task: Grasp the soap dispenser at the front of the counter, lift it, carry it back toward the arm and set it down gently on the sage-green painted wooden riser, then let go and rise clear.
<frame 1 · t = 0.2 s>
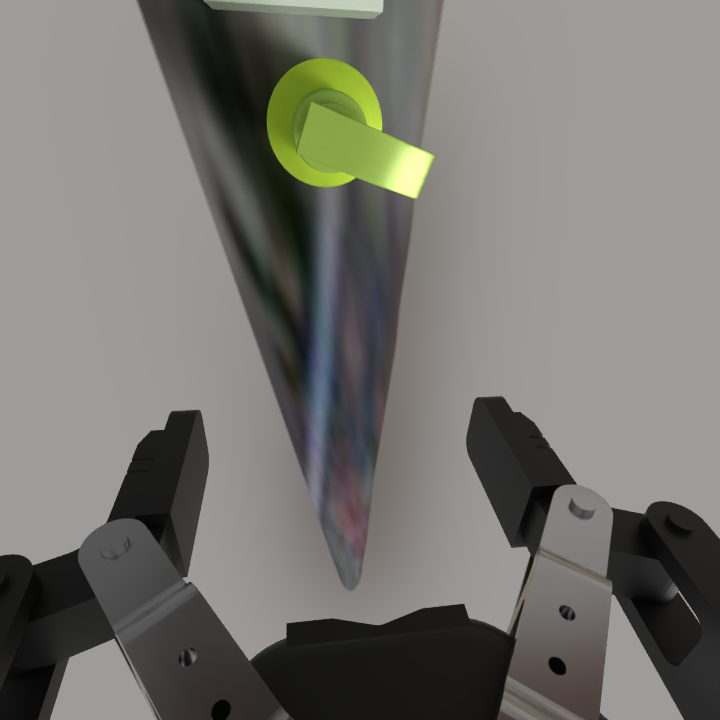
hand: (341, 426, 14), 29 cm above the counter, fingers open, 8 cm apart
soap dispenser: (320, 114, 35), on the counter
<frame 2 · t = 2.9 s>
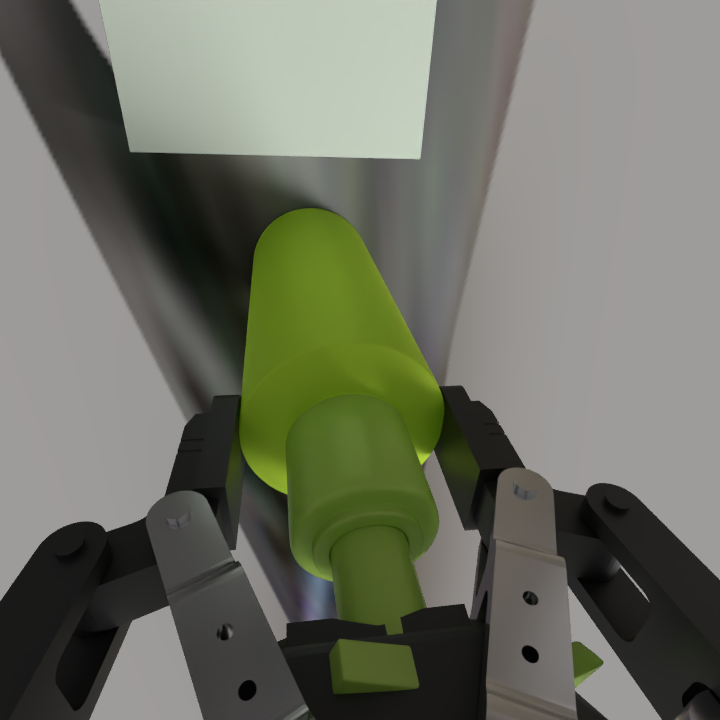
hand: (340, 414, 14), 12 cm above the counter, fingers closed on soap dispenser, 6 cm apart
soap dispenser: (320, 266, 24), on the counter, touching gripper
riser: (276, 1, 18), on the counter
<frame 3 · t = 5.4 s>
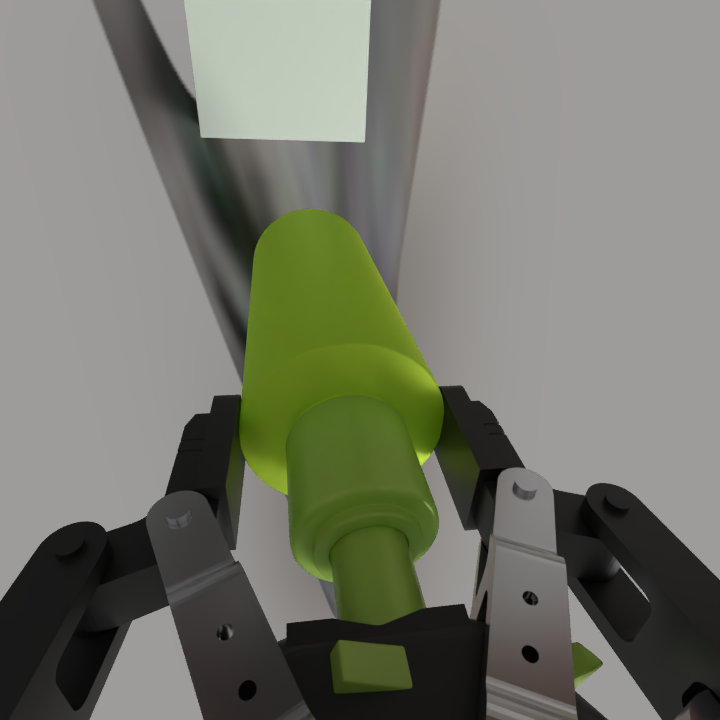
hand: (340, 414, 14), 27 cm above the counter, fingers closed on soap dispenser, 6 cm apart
soap dispenser: (320, 267, 24), point 15 cm above the counter, touching gripper
riser: (281, 52, 31), on the counter
when the fingers open (17 cm above the counter, at t = 8.5 s): soap dispenser stays where it is, resting on riser.
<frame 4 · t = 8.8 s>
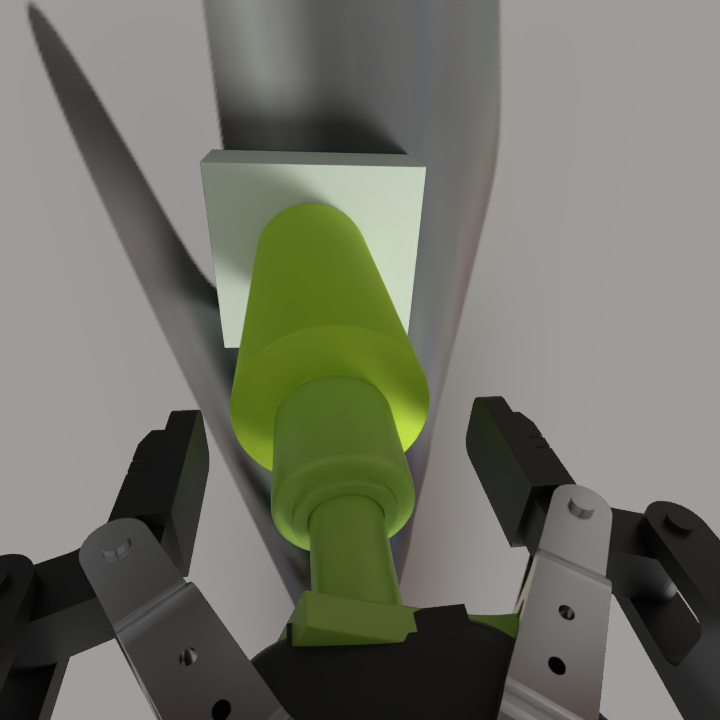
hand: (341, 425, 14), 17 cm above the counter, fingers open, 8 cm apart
soap dispenser: (321, 261, 25), point 4 cm above the counter, touching riser
riser: (314, 241, 28), on the counter
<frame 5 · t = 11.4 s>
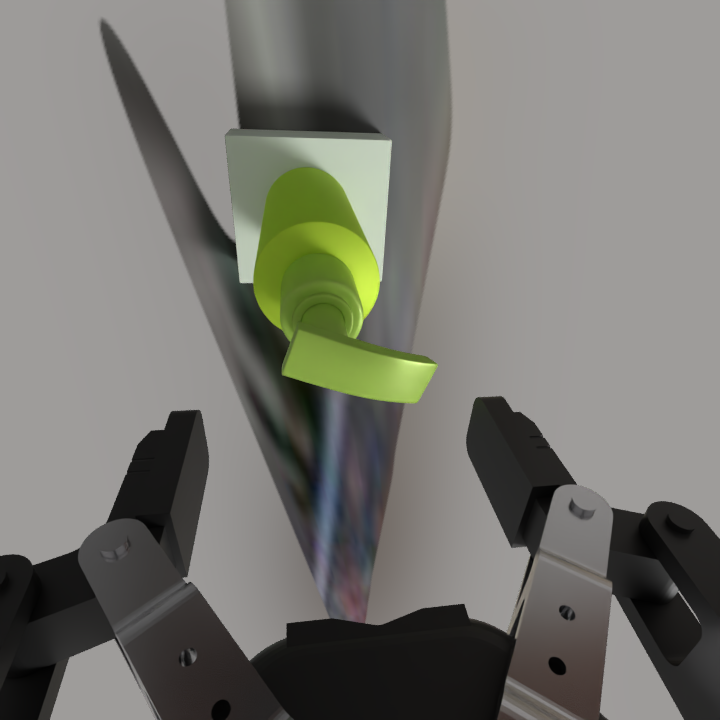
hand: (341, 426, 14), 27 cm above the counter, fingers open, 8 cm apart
soap dispenser: (314, 213, 33), point 4 cm above the counter, touching riser
riser: (309, 202, 36), on the counter
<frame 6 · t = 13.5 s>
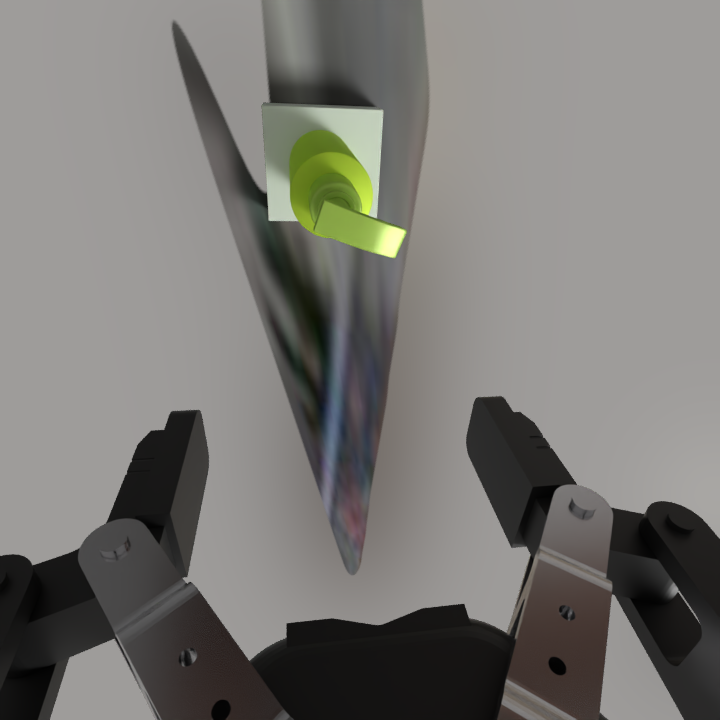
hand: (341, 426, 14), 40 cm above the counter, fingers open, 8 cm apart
soap dispenser: (325, 166, 44), point 4 cm above the counter, touching riser
riser: (321, 160, 47), on the counter
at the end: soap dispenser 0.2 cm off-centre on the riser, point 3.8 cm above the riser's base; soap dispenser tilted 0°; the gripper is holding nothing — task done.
